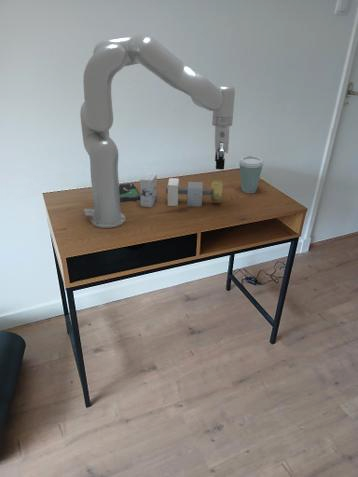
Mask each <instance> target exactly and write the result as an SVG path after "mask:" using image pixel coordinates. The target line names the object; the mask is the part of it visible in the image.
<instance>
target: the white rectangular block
mask: <svg viewBox="0 0 358 477" xmlns="http://www.w3.org/2000/svg"><path fill="white" fill-rule="evenodd" d="M179 187H180V179H179V178H175V177H173V178H172V177H171V178H169V179H168V183H167V188H168V194H167V206H169V207H178V205H179V199H180V198H179V196H180V194H178V188H179Z"/></svg>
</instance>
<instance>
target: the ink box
mask: <svg viewBox="0 0 358 477" xmlns="http://www.w3.org/2000/svg"><path fill="white" fill-rule="evenodd" d="M157 177H158V175H157V173H155V172H154V173H152V172H145V173H144V174H143V176H142V177H141V178H140V181H139V182H140V207H146V208H153V206H154V204H155V202H157V196H158V195H157V192H158V191H157V184H158V183H157V182H158V181H157Z"/></svg>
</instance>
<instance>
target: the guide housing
mask: <svg viewBox="0 0 358 477" xmlns="http://www.w3.org/2000/svg"><path fill="white" fill-rule="evenodd" d="M203 183H204V182H202V181H188V182H187V189H188V194H186V195H187V198H186V201H187V202H186V206H187V207H201V208H202V206H203V195H202V191H203V189H204V187H203V186H204V184H203Z"/></svg>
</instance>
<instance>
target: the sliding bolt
mask: <svg viewBox="0 0 358 477" xmlns="http://www.w3.org/2000/svg"><path fill="white" fill-rule="evenodd" d="M223 188H224V181H222V180H213V181H211V189H206V188H205V189H204V188H203V191H202V196H210V201H211V202H212V203H215V204H219V203H222V201H223ZM165 193H166V194H167V195H168V187H166V189H165ZM178 194H179V195H188V188H181V187H180V188H178Z"/></svg>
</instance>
